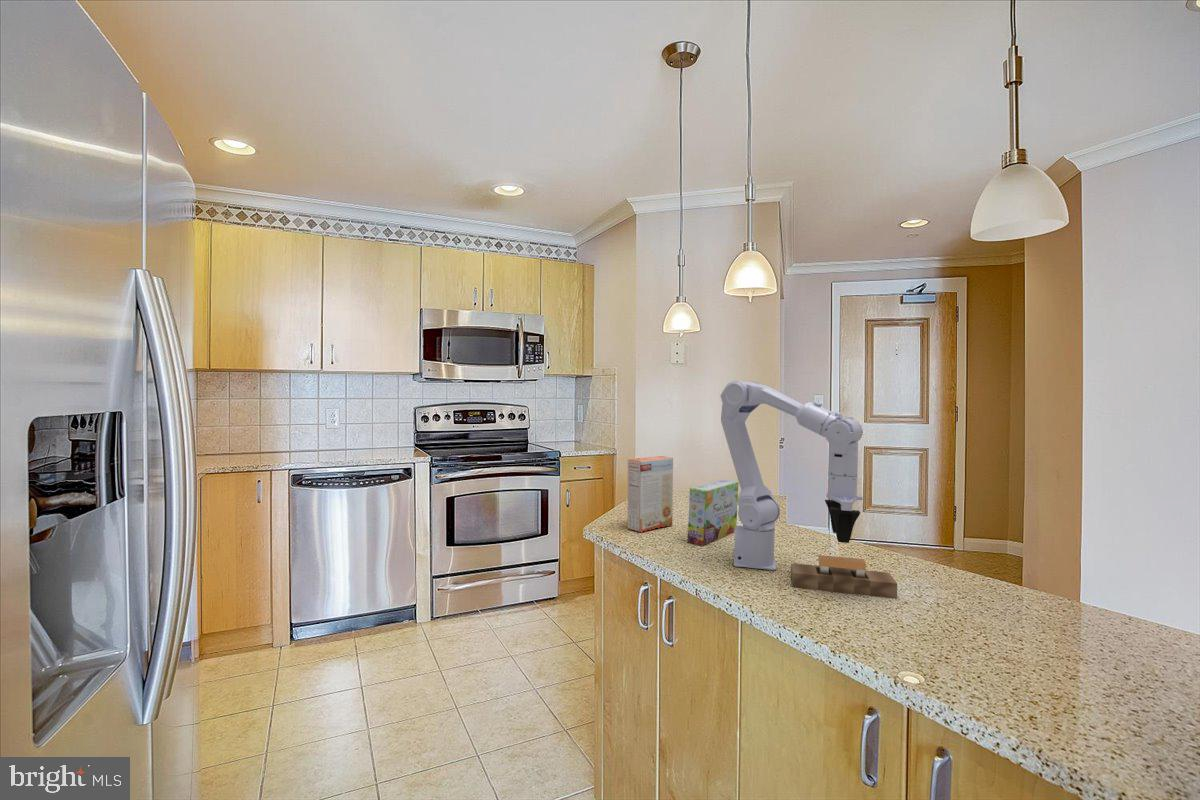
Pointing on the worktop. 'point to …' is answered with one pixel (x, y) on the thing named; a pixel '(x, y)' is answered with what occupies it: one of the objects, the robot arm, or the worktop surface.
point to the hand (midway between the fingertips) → (840, 537)
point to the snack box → (712, 511)
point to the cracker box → (650, 493)
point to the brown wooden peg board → (843, 581)
